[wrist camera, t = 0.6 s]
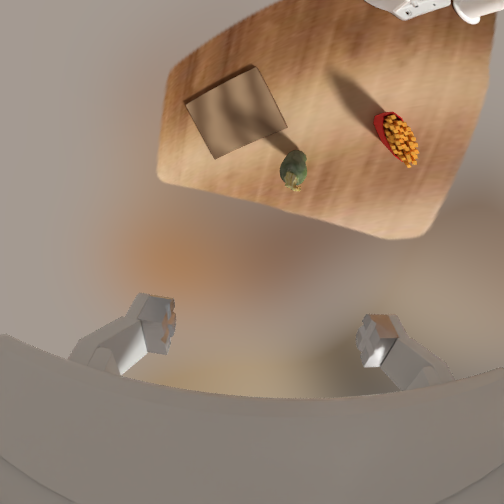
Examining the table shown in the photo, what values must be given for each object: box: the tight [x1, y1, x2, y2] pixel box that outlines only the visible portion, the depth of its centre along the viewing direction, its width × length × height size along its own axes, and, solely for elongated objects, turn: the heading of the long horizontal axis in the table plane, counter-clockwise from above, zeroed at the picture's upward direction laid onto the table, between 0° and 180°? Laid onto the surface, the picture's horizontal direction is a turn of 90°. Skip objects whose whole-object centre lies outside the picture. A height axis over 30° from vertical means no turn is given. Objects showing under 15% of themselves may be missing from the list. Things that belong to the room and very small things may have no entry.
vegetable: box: [280, 150, 307, 191], centre depth 45 cm, size 4×4×20 cm
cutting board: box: [186, 67, 287, 159], centre depth 50 cm, size 17×14×2 cm
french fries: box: [373, 112, 419, 168], centre depth 40 cm, size 9×4×13 cm, turn 32°
